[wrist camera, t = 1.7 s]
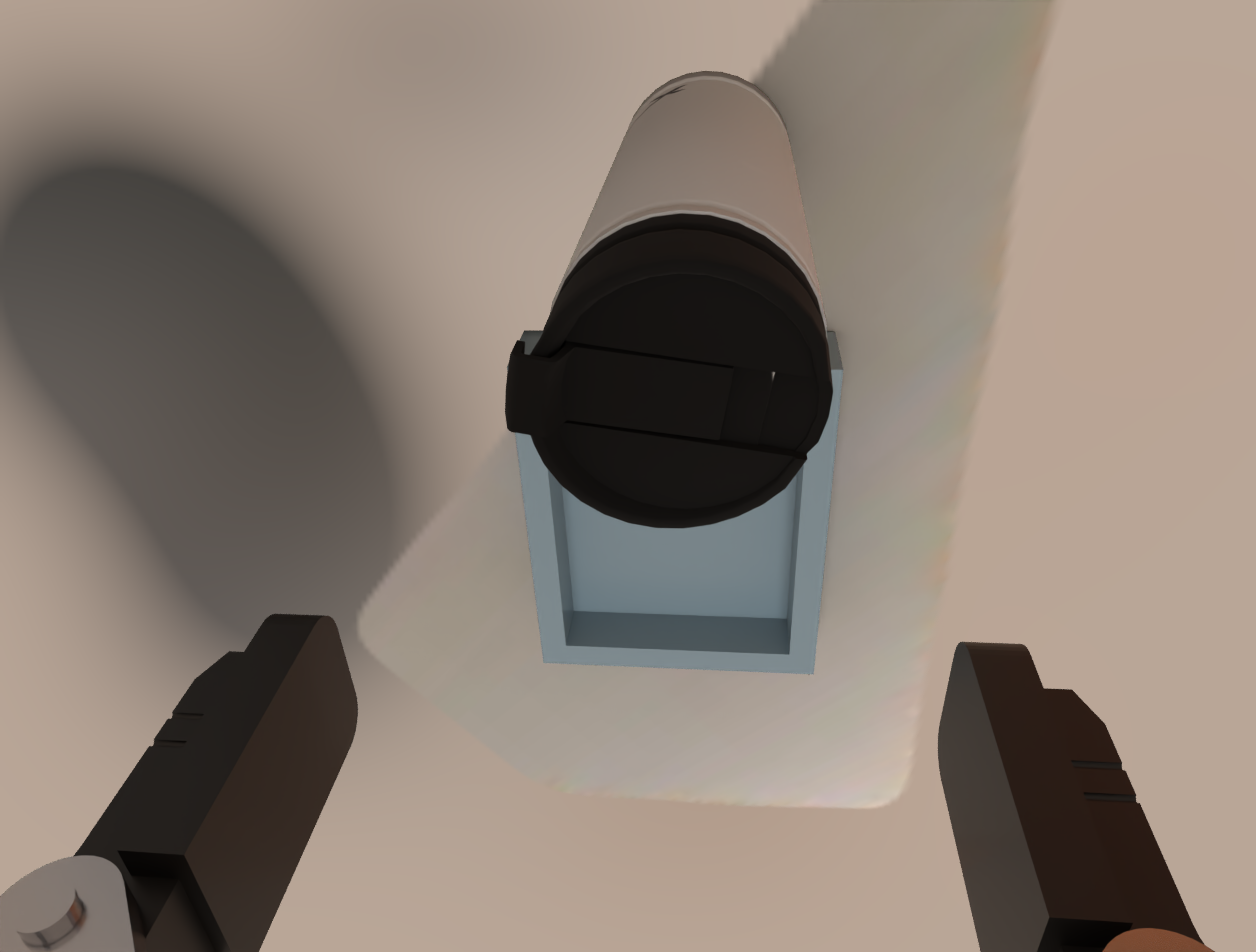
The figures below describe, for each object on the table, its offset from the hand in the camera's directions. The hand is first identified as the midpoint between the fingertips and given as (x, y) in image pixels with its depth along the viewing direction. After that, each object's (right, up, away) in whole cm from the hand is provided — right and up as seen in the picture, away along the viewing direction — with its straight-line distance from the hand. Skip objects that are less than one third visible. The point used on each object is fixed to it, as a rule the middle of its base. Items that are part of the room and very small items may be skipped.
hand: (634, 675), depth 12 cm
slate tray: (+2, +2, +31) cm, 31 cm away
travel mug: (+3, +15, +23) cm, 27 cm away
